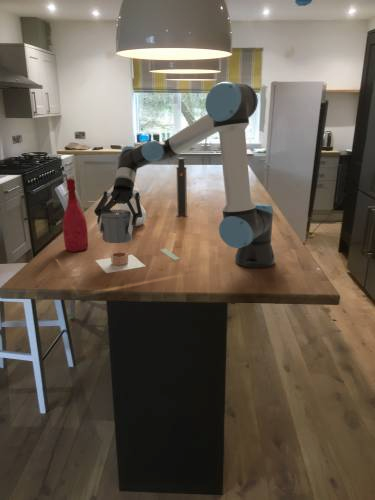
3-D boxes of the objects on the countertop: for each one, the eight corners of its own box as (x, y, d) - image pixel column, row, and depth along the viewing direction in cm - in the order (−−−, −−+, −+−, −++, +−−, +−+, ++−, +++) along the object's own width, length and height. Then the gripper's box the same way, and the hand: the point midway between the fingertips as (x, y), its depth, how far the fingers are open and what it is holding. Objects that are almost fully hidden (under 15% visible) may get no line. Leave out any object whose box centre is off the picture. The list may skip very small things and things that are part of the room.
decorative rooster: (116, 221, 219) (113, 174, 211) (145, 220, 221) (144, 174, 213) (114, 233, 195) (111, 182, 187) (147, 232, 197) (145, 181, 189)
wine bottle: (69, 245, 178) (62, 176, 169) (91, 245, 178) (85, 176, 168) (61, 252, 169) (54, 180, 159) (85, 252, 169) (79, 180, 159)
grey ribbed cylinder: (135, 240, 149) (134, 214, 146) (107, 244, 145) (106, 217, 141) (126, 233, 158) (125, 208, 155) (99, 237, 153) (98, 211, 150)
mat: (180, 260, 160) (180, 258, 160) (147, 265, 154) (146, 264, 154) (165, 250, 172) (165, 248, 172) (134, 255, 166) (134, 253, 166)
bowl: (130, 264, 153) (129, 255, 152) (114, 267, 150) (114, 258, 149) (124, 259, 158) (124, 251, 157) (109, 262, 155) (109, 253, 154)
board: (145, 268, 151) (145, 266, 151) (106, 275, 145) (106, 273, 144) (132, 256, 164) (131, 254, 163) (95, 262, 157) (95, 260, 157)
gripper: (155, 188, 159) (147, 238, 149) (98, 187, 162) (87, 235, 152) (152, 177, 152) (143, 228, 142) (93, 175, 155) (80, 225, 145)
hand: (114, 232), depth 147 cm, fingers closed on grey ribbed cylinder, 11 cm apart
